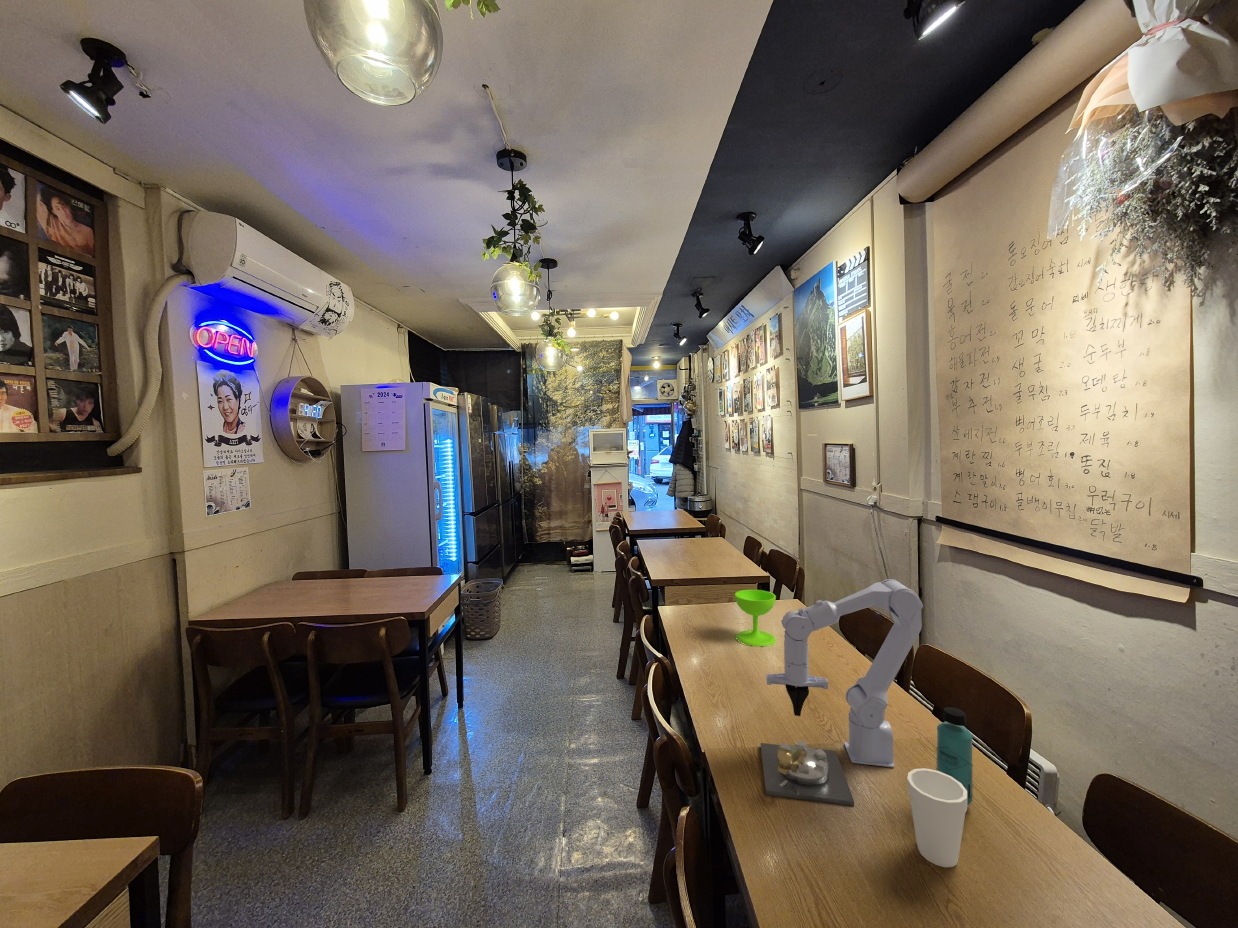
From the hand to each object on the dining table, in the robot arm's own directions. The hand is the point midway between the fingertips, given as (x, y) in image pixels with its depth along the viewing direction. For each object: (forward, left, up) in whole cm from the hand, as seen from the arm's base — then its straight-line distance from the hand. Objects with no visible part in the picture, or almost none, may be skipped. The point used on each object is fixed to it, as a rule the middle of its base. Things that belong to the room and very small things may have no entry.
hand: (797, 713), depth 122 cm
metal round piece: (+1, +11, -8) cm, 14 cm away
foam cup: (-21, +28, -10) cm, 36 cm away
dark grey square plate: (0, +9, -9) cm, 13 cm away
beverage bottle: (-30, +13, -10) cm, 34 cm away
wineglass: (+6, -74, -10) cm, 75 cm away
